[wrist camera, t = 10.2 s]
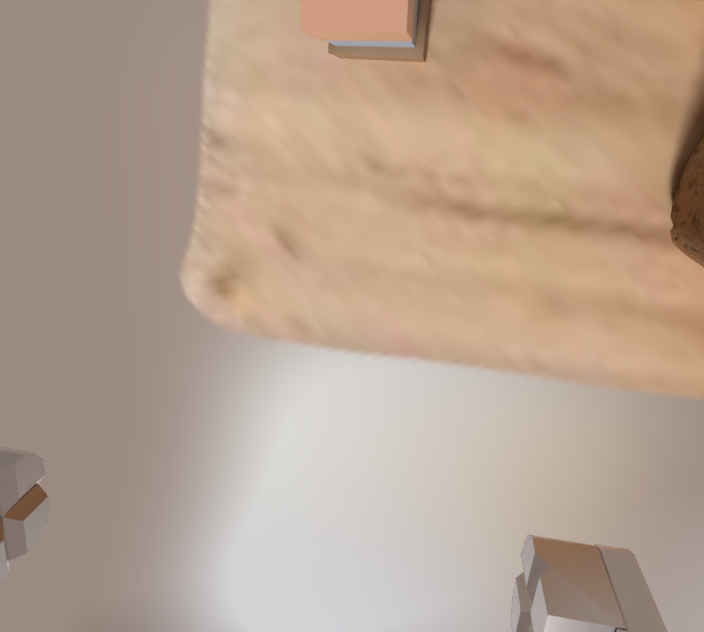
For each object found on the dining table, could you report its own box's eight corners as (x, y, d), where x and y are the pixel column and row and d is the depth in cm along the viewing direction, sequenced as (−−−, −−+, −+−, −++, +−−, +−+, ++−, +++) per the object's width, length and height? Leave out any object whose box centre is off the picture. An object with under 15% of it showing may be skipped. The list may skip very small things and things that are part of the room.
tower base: (345, -38, 40) (332, -57, 35) (434, -36, 39) (432, -54, 34) (341, 58, 42) (328, 52, 37) (425, 62, 41) (422, 57, 36)
